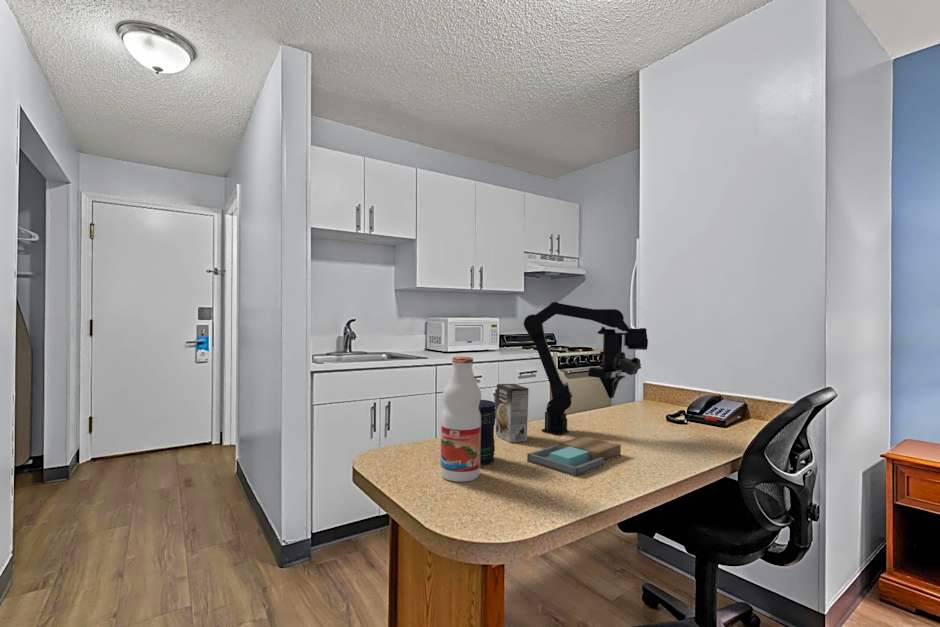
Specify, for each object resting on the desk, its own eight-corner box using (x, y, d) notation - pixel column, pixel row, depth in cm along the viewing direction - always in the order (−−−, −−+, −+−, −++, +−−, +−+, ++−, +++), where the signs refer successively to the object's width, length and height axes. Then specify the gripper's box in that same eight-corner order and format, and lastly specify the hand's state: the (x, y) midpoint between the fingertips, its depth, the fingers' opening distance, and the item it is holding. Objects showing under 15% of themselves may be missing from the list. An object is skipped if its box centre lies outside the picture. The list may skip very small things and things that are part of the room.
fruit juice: (486, 472, 117) (488, 357, 117) (470, 485, 108) (472, 360, 108) (451, 466, 121) (453, 354, 121) (433, 478, 112) (435, 358, 112)
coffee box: (494, 435, 151) (495, 383, 151) (512, 433, 154) (513, 382, 154) (509, 443, 143) (510, 388, 143) (527, 441, 146) (529, 387, 145)
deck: (560, 453, 134) (560, 442, 134) (582, 446, 142) (583, 435, 141) (598, 464, 125) (599, 452, 125) (620, 455, 133) (620, 445, 133)
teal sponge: (549, 460, 125) (549, 452, 125) (569, 453, 132) (569, 446, 132) (568, 466, 121) (569, 458, 121) (588, 459, 127) (589, 451, 127)
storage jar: (491, 467, 121) (492, 408, 121) (452, 464, 123) (454, 405, 123) (497, 455, 131) (498, 400, 130) (461, 452, 133) (462, 398, 132)
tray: (527, 461, 126) (527, 453, 126) (555, 452, 135) (556, 444, 135) (576, 476, 116) (576, 468, 116) (603, 465, 124) (604, 458, 124)
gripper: (620, 352, 141) (619, 405, 142) (650, 349, 154) (649, 398, 154) (587, 349, 149) (586, 399, 150) (618, 346, 162) (617, 393, 162)
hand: (611, 397), depth 154 cm, fingers closed
